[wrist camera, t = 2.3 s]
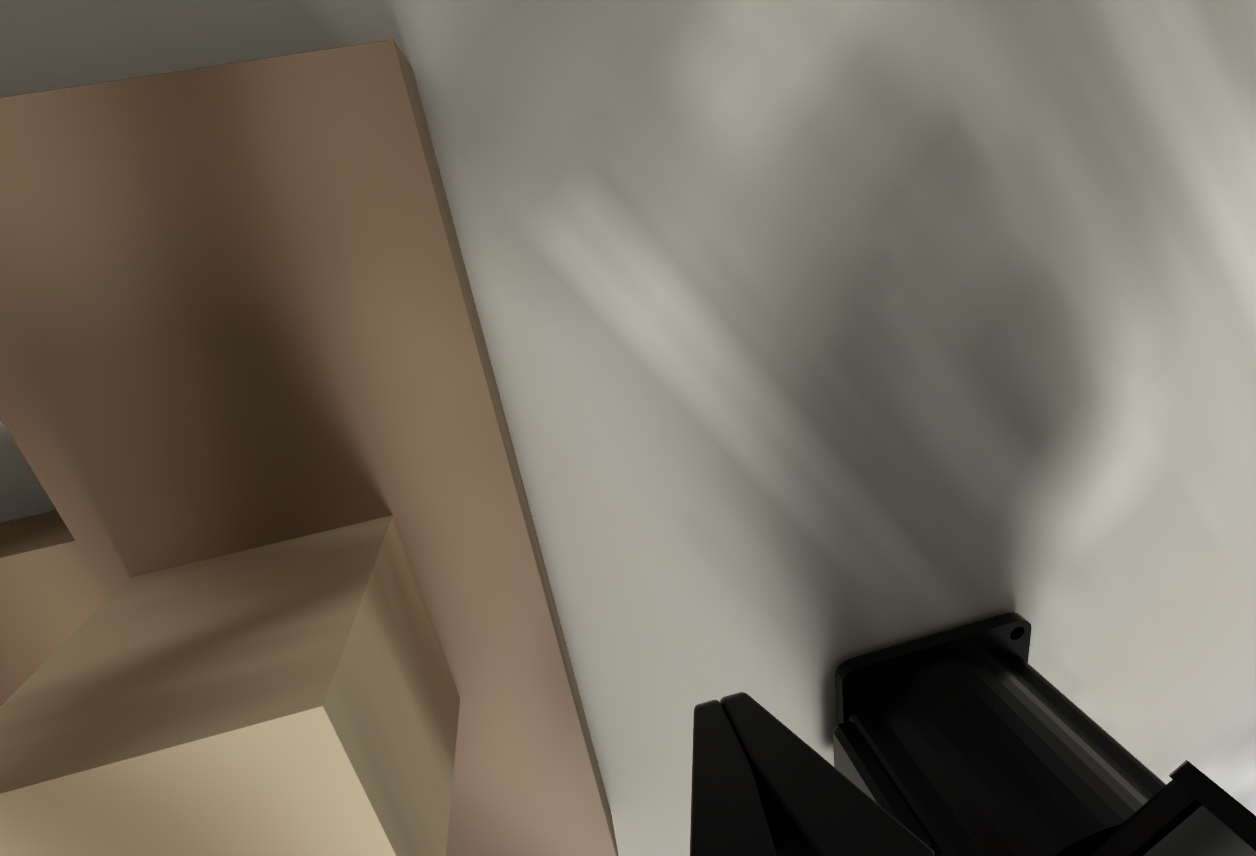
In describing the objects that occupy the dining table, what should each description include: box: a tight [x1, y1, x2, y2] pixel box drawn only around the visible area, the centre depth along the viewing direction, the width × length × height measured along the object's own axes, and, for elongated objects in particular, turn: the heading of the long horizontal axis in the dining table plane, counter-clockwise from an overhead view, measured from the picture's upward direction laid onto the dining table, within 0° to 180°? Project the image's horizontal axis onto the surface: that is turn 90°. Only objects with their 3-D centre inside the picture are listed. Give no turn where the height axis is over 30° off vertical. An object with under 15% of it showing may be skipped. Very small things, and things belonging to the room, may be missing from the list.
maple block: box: [0, 515, 460, 856], centre depth 10 cm, size 5×5×5 cm
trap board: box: [0, 39, 618, 856], centre depth 13 cm, size 20×21×2 cm
